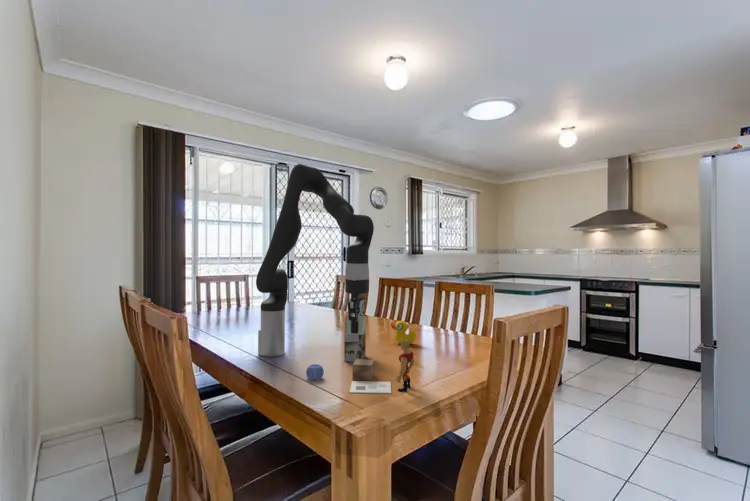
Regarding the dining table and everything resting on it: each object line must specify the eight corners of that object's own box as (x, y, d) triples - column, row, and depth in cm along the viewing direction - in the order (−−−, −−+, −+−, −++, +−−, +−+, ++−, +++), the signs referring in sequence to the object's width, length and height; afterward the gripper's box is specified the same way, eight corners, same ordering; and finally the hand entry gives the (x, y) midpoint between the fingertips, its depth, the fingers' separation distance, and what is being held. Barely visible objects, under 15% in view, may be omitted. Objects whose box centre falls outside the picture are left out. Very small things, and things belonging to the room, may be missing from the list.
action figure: (404, 382, 120) (404, 334, 120) (415, 384, 118) (415, 335, 118) (393, 393, 111) (393, 341, 111) (405, 395, 110) (405, 342, 110)
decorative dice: (315, 375, 126) (315, 363, 126) (323, 378, 124) (323, 365, 124) (305, 378, 123) (306, 366, 123) (314, 381, 121) (314, 368, 121)
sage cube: (346, 334, 120) (347, 318, 120) (350, 330, 125) (351, 315, 125) (362, 334, 120) (362, 318, 119) (365, 331, 124) (366, 316, 124)
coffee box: (360, 362, 141) (361, 318, 141) (343, 361, 142) (343, 317, 142) (366, 355, 150) (366, 314, 150) (350, 354, 151) (350, 313, 151)
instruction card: (349, 393, 111) (349, 391, 111) (352, 382, 120) (352, 381, 120) (391, 393, 111) (391, 392, 111) (390, 382, 120) (390, 381, 120)
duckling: (388, 344, 168) (388, 321, 168) (392, 341, 173) (392, 319, 173) (414, 346, 165) (414, 323, 164) (417, 343, 170) (417, 320, 170)
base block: (352, 380, 122) (352, 364, 122) (356, 374, 128) (356, 359, 128) (371, 381, 122) (371, 365, 122) (373, 375, 128) (374, 359, 127)
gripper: (351, 275, 130) (350, 326, 130) (339, 279, 116) (338, 335, 116) (373, 276, 129) (372, 327, 129) (363, 279, 115) (363, 337, 115)
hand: (356, 331), depth 122 cm, fingers closed on sage cube, 5 cm apart
